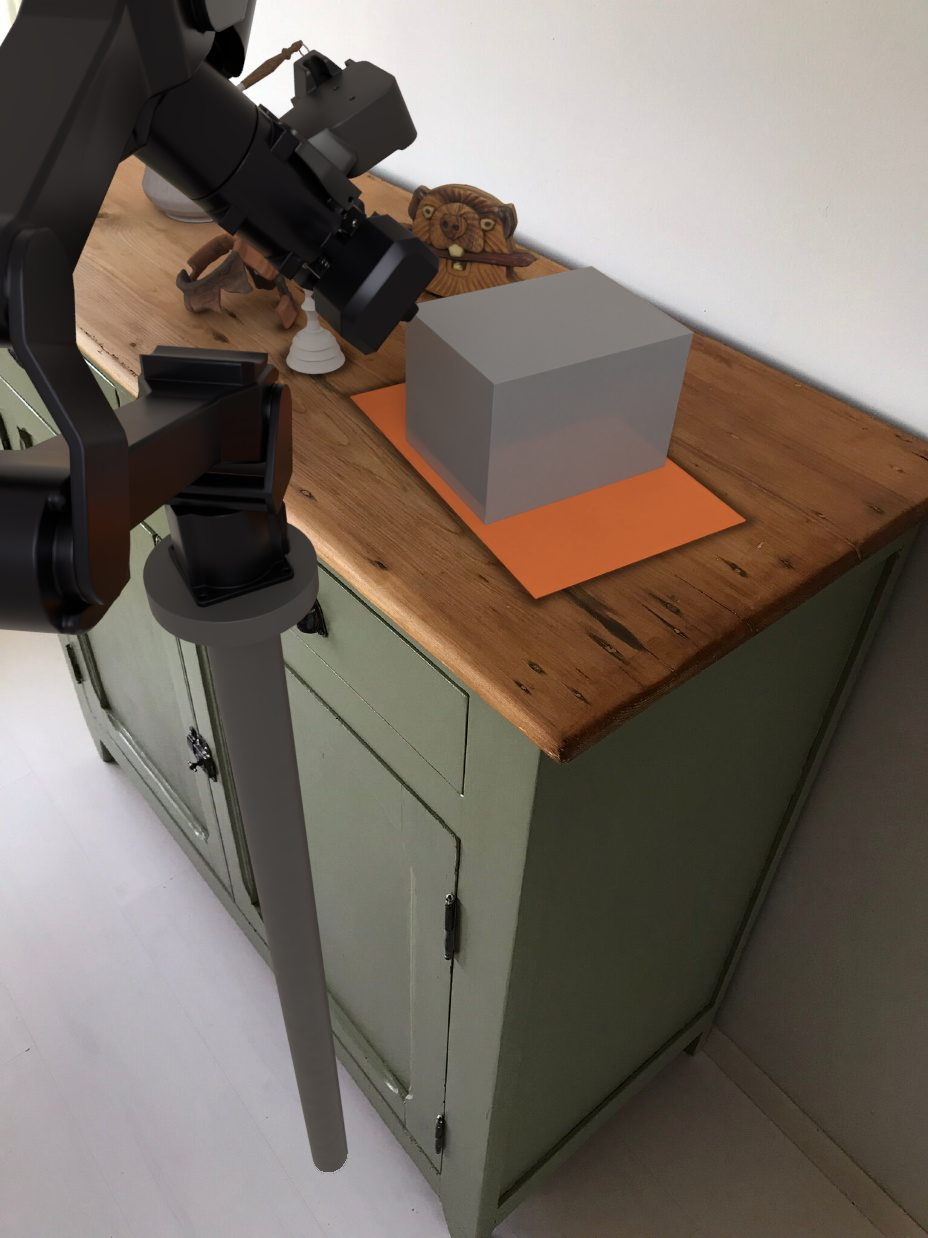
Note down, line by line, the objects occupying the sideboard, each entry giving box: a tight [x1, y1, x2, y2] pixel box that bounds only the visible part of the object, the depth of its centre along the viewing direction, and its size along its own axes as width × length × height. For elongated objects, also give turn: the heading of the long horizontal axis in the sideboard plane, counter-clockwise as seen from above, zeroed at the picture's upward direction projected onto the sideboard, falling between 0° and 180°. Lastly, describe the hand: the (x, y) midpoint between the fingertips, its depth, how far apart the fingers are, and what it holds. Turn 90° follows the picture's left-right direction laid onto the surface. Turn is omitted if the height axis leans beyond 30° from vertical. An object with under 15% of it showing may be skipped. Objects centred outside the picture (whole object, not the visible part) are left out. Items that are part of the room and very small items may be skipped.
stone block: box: [404, 265, 694, 525], centre depth 70 cm, size 16×12×11 cm
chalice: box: [285, 288, 346, 375], centre depth 77 cm, size 7×7×18 cm
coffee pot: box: [141, 39, 311, 223], centre depth 104 cm, size 21×12×15 cm, turn 131°
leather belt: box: [175, 232, 299, 330], centre depth 87 cm, size 12×10×8 cm
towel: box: [350, 382, 746, 600], centre depth 74 cm, size 18×28×1 cm, turn 30°
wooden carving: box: [398, 183, 541, 298], centre depth 90 cm, size 16×5×10 cm, turn 75°
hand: (412, 313), depth 60 cm, fingers closed
